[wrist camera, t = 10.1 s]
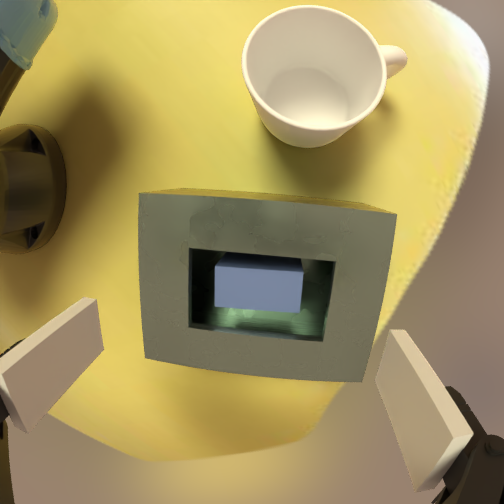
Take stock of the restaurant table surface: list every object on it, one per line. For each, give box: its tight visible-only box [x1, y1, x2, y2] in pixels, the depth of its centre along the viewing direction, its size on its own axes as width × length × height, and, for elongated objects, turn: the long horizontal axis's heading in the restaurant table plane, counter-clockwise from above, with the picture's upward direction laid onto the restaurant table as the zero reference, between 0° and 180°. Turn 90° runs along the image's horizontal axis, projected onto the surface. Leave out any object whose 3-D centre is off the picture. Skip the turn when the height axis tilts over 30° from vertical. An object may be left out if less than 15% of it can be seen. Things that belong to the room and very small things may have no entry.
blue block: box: [215, 251, 303, 313], centre depth 24 cm, size 6×3×6 cm, turn 88°
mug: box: [241, 5, 407, 148], centre depth 19 cm, size 12×8×10 cm
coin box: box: [138, 188, 397, 382], centre depth 24 cm, size 16×12×9 cm
